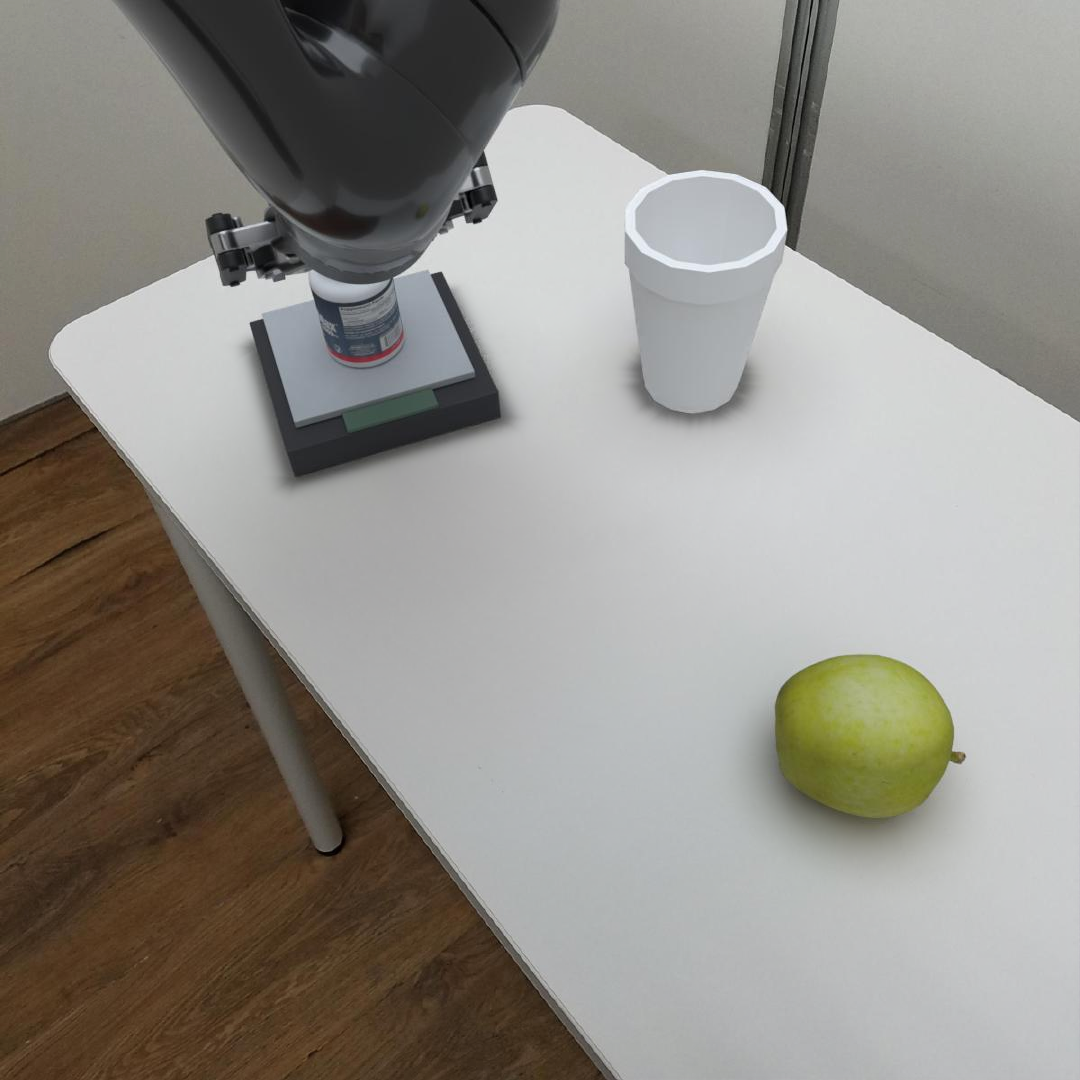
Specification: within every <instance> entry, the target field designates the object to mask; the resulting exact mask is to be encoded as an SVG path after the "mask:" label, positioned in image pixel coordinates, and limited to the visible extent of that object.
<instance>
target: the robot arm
mask: <svg viewBox="0 0 1080 1080" xmlns="http://www.w3.org/2000/svg"><path fill="white" fill-rule="evenodd" d="M111 1H112V2H113V4H114V5H116V7H117V8H118V9H119V10H120V12H121V13H122V14H123V15H124V17H125V18H126V19H127V20H128V22H129V23H130V24H131V25H132V26H133V28H134V29H135V30H136V32H137V33H138V34H139V36H141V38H142V39H143V40H144V41H145V43H146V44H147V45H148V46H149V48H150V50H151V51H152V52H153V53H154V55H155V56H156V57H157V59H158V60H159V62H161V64H162V65H163V67H164V68H165V69H166V72H168V74H169V75H170V76H171V78H172V79H173V80H174V82H175V83H176V85H177V86H178V87H179V89H180V90H181V92H182V93H183V94H184V96H185V97H186V99H187V101H188V102H189V103H190V105H191V106H192V108H193V109H194V111H195V112H196V113H197V115H198V116H199V117H200V119H201V120H202V122H203V123H204V124H205V126H206V128H207V129H208V130H209V132H210V133H211V135H212V136H213V137H214V139H215V140H216V141H217V143H218V144H219V146H220V147H221V148H222V150H223V151H224V153H225V154H226V156H227V157H228V158H229V159H230V160H231V162H233V164H234V165H235V167H236V168H237V169H238V170H239V171H240V172H241V174H242V175H243V176H244V177H245V179H246V180H247V181H248V183H249V184H250V185H251V186H252V187H253V188H254V189H255V191H256V192H257V193H258V194H259V195H260V196H261V197H262V198H263V199H264V200H265V201H266V202H267V203H268V204H269V206H268V207H266V208H265V210H264V212H263V220H262V221H261V222H257V223H253V224H249V225H243V221H242V218H241V216H238V215H237V216H232V214H231V213H223V212H216V213H213V214H211V216H210V217H207V218H206V219H205V220H204V222H205V229H206V235H207V241H208V244H209V247H210V249H211V250H212V253H213V257H214V259H215V263H216V266H217V269H218V271H219V279H220V281H221V282H220V283H221V284H222V286H223V287H229V286H230V287H229V288H235V287H238V286H241V284H242V283H243V282H246V281H247V272H255V274H256V277H257V279H258V280H261V279H262V280H263V279H264V280H267V281H268V280H272V281H273V283H277V282H281V281H284V280H285V281H286V280H287V278H286V277H287V276H292V275H300V274H307V273H308V272H309V271H311V270H314V271H316V272H317V273H319V274H321V275H323V276H325V277H327V278H330V279H332V280H335V281H339V282H343V283H347V284H359V285H363V284H374V283H379V282H383V281H386V280H389V279H391V278H393V279H395V278H397V276H398V277H399V275H401V274H404V272H406V271H408V270H409V269H410V268H412V266H413V265H415V264H416V263H417V262H418V261H419V260H420V259H421V258H422V256H423V255H424V253H425V252H426V251H427V249H428V248H429V246H430V245H431V243H432V242H434V240H435V238H437V236H438V234H439V235H440V236H441V235H442V236H443V235H446V234H447V233H449V231H451V230H453V229H455V226H454V222H453V220H455V219H458V218H460V217H464V221H465V224H473V225H478V224H480V223H483V220H486V219H488V218H489V216H490V214H491V213H492V211H493V209H494V208H495V206H496V205H497V203H498V202H499V199H498V196H497V193H496V189H495V186H494V182H493V178H492V174H491V170H490V167H489V164H488V160H487V156H486V153H485V149H486V148H487V146H488V144H489V143H490V141H491V140H492V138H493V136H494V135H495V133H496V131H497V130H498V128H499V126H500V125H501V123H502V122H503V120H504V118H505V116H506V114H507V113H508V111H509V110H510V108H511V106H512V105H513V103H514V102H515V100H516V98H517V96H518V95H519V92H520V91H521V89H522V88H524V87H523V86H524V85H525V84H526V82H527V80H528V79H529V77H530V76H531V73H533V71H534V69H535V67H536V65H537V64H538V62H539V60H540V59H541V57H542V56H543V53H544V52H545V50H546V49H547V46H548V45H549V42H550V40H551V39H552V36H553V34H554V31H555V29H556V27H557V23H558V18H559V12H560V7H561V0H111Z"/></svg>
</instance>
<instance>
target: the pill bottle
mask: <svg viewBox="0 0 1080 1080" xmlns="http://www.w3.org/2000/svg"><path fill="white" fill-rule="evenodd" d="M307 276H308V278H307V279H308V283H309V287H310V291H311V294H312V298H313V300H314V301H315V305H316V309H317V313H318V316H319V320H320V323H321V327H322V331H323V335H324V339H325V342H326V346H327V349H328V351H329V353H330V354H331V356H332V357H333V358H334V359H335V360H336V361H338V362H340V363H342V364H344V365H347V366H350V367H358V368H363V367H372V366H376V365H379V364H381V363H384V362H386V361H387V360H389V359H391V358H392V357H393V356H394V355H395V354H396V353H397V352H398V351H399V350H400V348H401V347H402V344H403V341H404V329H403V325H402V320H401V316H400V311H399V306H398V302H397V297H396V291H395V286H394V280H393V279H394V278H391V279H389V280H386V281H383V282H379V283H374V284H363V285H359V284H347V283H343V282H339V281H335V280H332V279H330V278H327V277H325V276H323V275H321V274H319V273H317V272H316V271H314V270H311V271H309V272H307Z"/></svg>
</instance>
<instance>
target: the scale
mask: <svg viewBox="0 0 1080 1080" xmlns="http://www.w3.org/2000/svg"><path fill="white" fill-rule="evenodd" d="M393 280H394V286H395V291H396V297H397V302H398V306H399V311H400V316H401V320H402V325H403V329H404V341H403V344H402V347H401V348H400V350H399V351H398V352H397V353H396V354H395V355H394V356H393V357H392V358H391V359H389V360H387V361H386V362H384V363H381V364H379V365H376V366H372V367H363V368H358V367H350V366H347V365H344V364H342V363H340V362H338V361H336V360H335V359H334V358H333V357H332V356H331V354H330V353H329V351H328V349H327V346H326V342H325V339H324V335H323V331H322V327H321V323H320V320H319V316H318V313H317V309H316V305H315V301H314V299H312V300H308V301H305V302H300V303H297V304H293V305H290V306H285V307H281V308H278V309H273V310H271V311H267V312H262V313H261V317H262V318H261V319H257V320H253V321H250V322H249V327H250V330H251V334H252V338H253V341H254V345H255V349H256V351H257V355H258V359H259V362H260V365H261V368H262V372H263V376H264V379H265V383H266V386H267V389H268V394H269V397H270V400H271V404H272V407H273V410H274V414H275V417H276V420H277V425H278V428H279V431H280V436H281V439H282V442H283V445H284V448H285V453H286V455H287V458H288V461H289V463H290V468H291V469H292V473H293V475H294V477H300V476H304V475H306V474H310V473H313V472H317V471H320V470H325V469H327V468H331V467H334V466H338V465H341V464H344V463H348V462H351V461H354V460H355V461H356V460H358V459H362V458H365V457H369V456H371V455H376V454H378V453H379V454H380V453H382V452H386V451H390V450H392V449H396V448H400V447H403V446H406V445H410V444H413V443H416V442H420V441H424V440H427V439H430V438H433V437H437V436H441V435H444V434H447V433H448V434H449V433H451V432H454V431H457V430H461V429H464V428H468V427H471V426H474V425H477V424H478V425H479V424H481V423H485V422H488V421H491V420H495V419H499V418H501V417H502V412H501V403H500V393H499V390H498V388H497V386H496V384H495V381H494V379H493V377H492V375H491V373H490V371H489V369H488V366H487V364H486V363H485V359H484V358H483V356H482V354H481V352H480V349H479V347H478V345H477V343H476V341H475V338H474V337H473V335H472V332H471V330H470V328H469V326H468V324H467V322H466V320H465V318H464V315H463V313H462V311H461V309H460V308H459V305H458V303H457V301H456V298H455V296H454V294H453V292H452V289H451V288H450V286H449V284H448V281H447V279H446V276H445V275H444V273H443V271H437V272H433V273H430V271H429V269H425V270H421V271H417V272H414V273H410V274H406V275H403V276H402V275H401V276H398V277H394V278H393Z"/></svg>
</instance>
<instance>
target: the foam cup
mask: <svg viewBox="0 0 1080 1080" xmlns="http://www.w3.org/2000/svg"><path fill="white" fill-rule="evenodd" d="M624 212H625V213H624V265H625V266H626V268H627V269H628V275H629V281H630V290H631V296H632V305H633V311H634V318H635V319H634V320H635V326H636V327H635V328H636V333H637V342H638V349H639V356H640V363H641V370H642V371H641V372H642V378H643V381H644V388H645V390H647V392H648V394H649V395H650V396H651V398H652V400H653V401H654V402H656V403H658V404H660V405H661V406H663V407H665V408H667V409H668V410H671V411H675V412H681V413H686V414H692V415H693V414H699V413H706V412H711V411H715V410H716V409H718V408H720V407H721V406H723V405H725V404H726V403H728V402H730V401H731V399H732V397H733V395H734V394H735V392H736V391H737V389H738V387H739V383H740V381H741V379H742V375H743V373H744V370H745V367H746V363H747V360H748V358H749V355H750V352H751V348H752V345H753V342H754V340H755V336H756V333H757V329H758V327H759V325H760V324H759V323H760V321H761V318H762V315H763V311H764V309H765V305H766V302H767V300H768V296H769V293H770V290H771V287H772V284H773V281H774V278H775V275H776V274H777V271H778V270H779V268H780V267H781V265H782V264H783V259H784V253H785V247H786V241H787V235H788V224H787V216H786V210H785V206H784V205H783V204H782V202H781V201H779V200H778V199H777V197H776V196H775V195H774V194H773V193H772V192H771V191H770V190H769V189H768V188H767V187H766V186H764V185H762V184H760V183H757V182H755V181H753V180H750V179H748V178H746V177H744V176H742V175H739V174H737V173H730V172H729V173H728V172H722V171H721V172H720V171H712V170H706V169H705V170H704V169H700V170H693V171H686V172H685V171H684V172H679V173H678V172H677V173H673V174H667V175H665V176H663V177H661V178H659V179H657V180H655V181H653V182H651V183H648V184H647V185H645V186H643V187H640V189H639V190H638V191H637V193H636V194H635V195H634V196H633V198H632V199H631V200H630V202H628V204H627V205H626V206H625V208H624Z"/></svg>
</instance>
